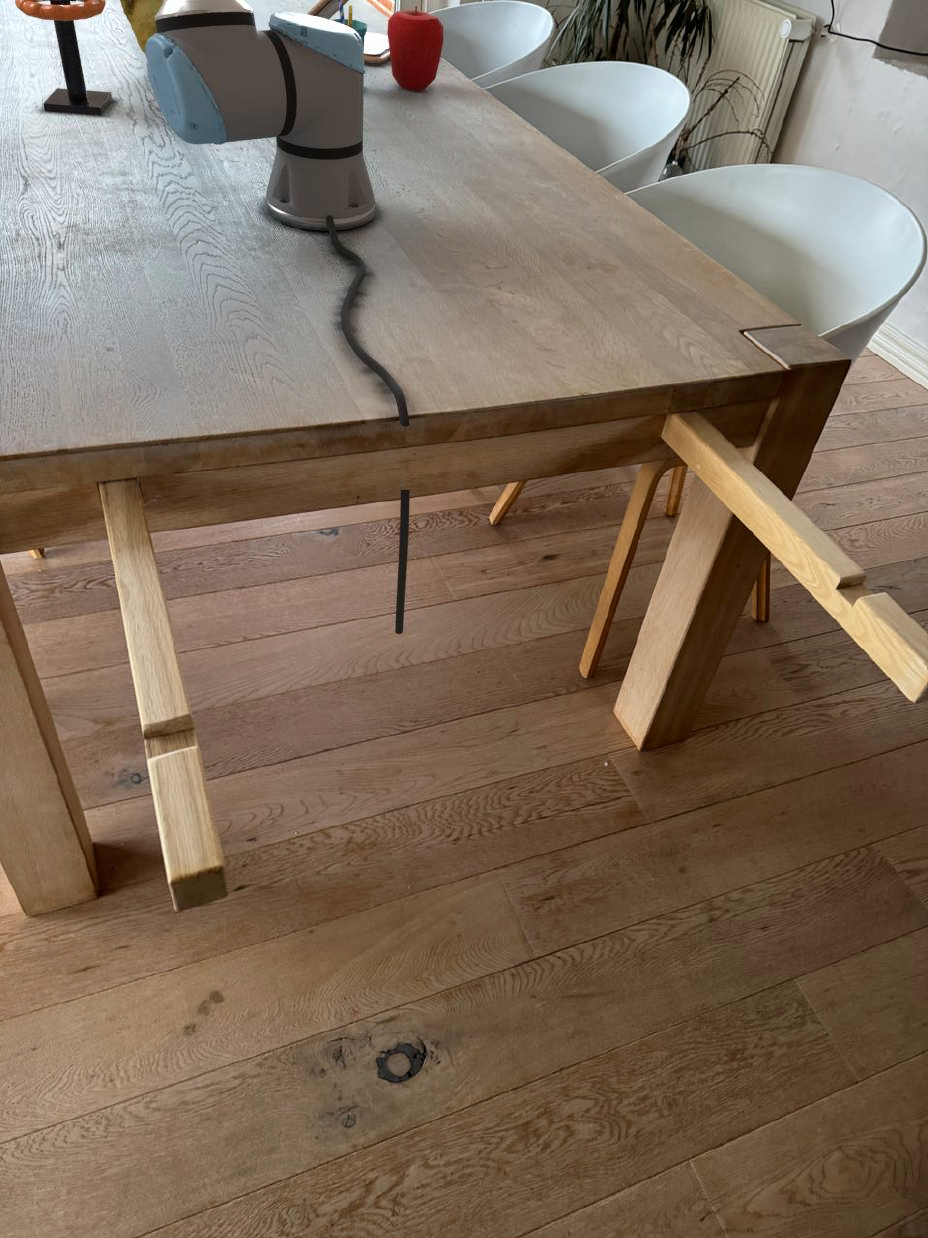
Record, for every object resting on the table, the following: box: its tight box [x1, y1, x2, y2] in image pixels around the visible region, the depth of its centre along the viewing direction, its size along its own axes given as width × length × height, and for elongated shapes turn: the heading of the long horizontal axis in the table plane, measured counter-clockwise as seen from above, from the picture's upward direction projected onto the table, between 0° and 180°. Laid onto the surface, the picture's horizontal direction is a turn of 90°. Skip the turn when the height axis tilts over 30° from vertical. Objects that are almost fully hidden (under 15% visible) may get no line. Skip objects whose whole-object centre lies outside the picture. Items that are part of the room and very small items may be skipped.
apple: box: [386, 5, 445, 92], centre depth 174 cm, size 10×10×14 cm
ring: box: [14, 0, 106, 21], centre depth 143 cm, size 13×13×2 cm
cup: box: [330, 0, 368, 54], centre depth 169 cm, size 14×8×15 cm, turn 24°
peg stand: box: [42, 0, 113, 116], centre depth 148 cm, size 9×9×15 cm
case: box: [305, 0, 390, 64], centre depth 190 cm, size 20×21×16 cm
